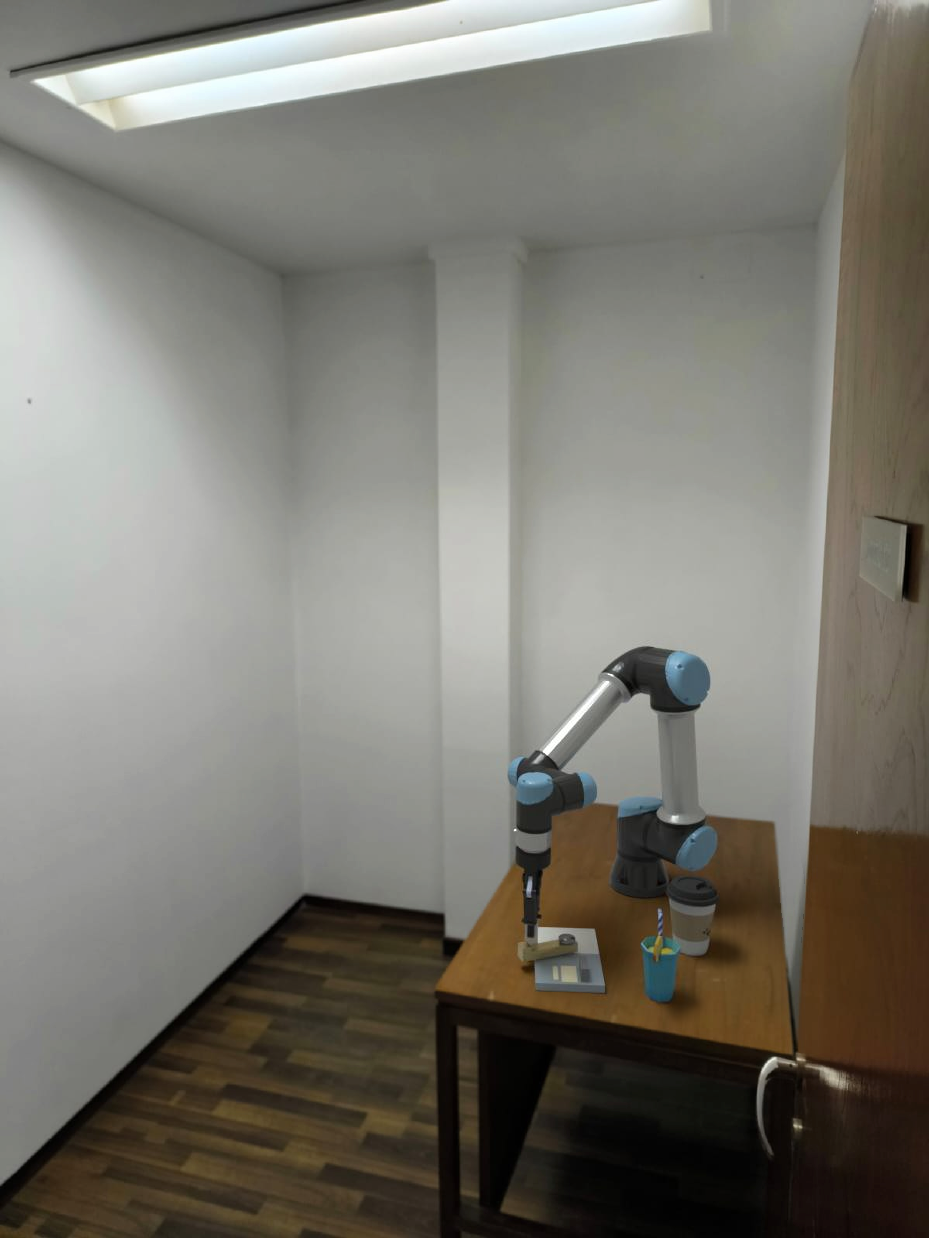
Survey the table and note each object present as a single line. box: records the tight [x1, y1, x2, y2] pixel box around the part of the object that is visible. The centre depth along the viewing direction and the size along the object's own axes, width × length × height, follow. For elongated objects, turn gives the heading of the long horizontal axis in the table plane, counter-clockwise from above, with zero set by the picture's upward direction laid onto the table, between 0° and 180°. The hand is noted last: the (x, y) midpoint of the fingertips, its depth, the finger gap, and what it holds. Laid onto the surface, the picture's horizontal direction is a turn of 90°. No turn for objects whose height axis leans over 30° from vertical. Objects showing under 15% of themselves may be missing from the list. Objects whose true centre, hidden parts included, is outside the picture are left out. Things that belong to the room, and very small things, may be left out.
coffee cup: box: [665, 874, 720, 957], centre depth 181 cm, size 11×11×15 cm
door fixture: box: [533, 926, 606, 994], centre depth 176 cm, size 14×23×4 cm, turn 176°
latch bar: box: [517, 934, 578, 963], centre depth 174 cm, size 13×4×3 cm, turn 109°
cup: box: [640, 908, 681, 1003], centre depth 163 cm, size 14×8×15 cm, turn 168°
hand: (531, 948), depth 176 cm, fingers closed
